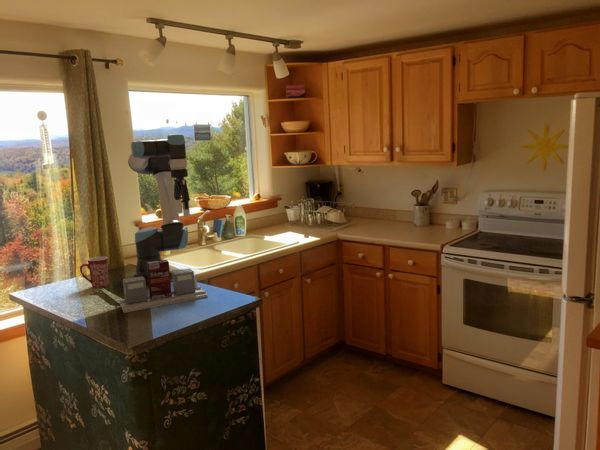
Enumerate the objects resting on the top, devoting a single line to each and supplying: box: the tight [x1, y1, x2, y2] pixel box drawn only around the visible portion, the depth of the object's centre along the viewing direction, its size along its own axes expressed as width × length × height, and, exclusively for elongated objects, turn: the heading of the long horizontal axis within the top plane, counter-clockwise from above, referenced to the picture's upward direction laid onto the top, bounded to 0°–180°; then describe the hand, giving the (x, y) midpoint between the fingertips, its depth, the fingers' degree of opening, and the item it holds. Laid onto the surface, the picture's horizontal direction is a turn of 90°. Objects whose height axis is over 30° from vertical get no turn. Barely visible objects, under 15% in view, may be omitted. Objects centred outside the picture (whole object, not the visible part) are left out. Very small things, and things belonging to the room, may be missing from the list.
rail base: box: [119, 268, 208, 314], centre depth 211 cm, size 13×34×11 cm, turn 116°
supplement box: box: [146, 259, 172, 300], centre depth 210 cm, size 9×5×16 cm, turn 116°
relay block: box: [194, 274, 198, 287], centre depth 228 cm, size 5×5×6 cm
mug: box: [79, 256, 109, 289], centre depth 240 cm, size 13×9×14 cm
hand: (183, 215), depth 231 cm, fingers open, 13 cm apart
